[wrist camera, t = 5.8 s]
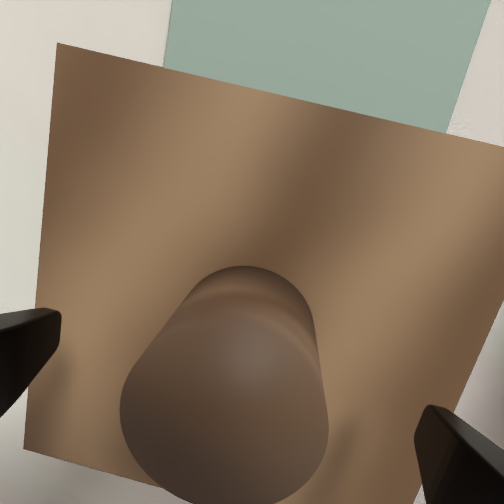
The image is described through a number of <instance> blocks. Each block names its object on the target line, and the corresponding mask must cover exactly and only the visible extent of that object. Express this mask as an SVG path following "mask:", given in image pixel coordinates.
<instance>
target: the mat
mask: <svg viewBox="0 0 504 504" xmlns="http://www.w3.org/2000/svg"><path fill="white" fill-rule="evenodd" d="M490 1H491V0H173V3H172V10H171V17H170V25H169V32H168V39H167V46H166V53H165V60H164V67H163V68H167V69H172V70H176V71H180V72H185V73H189V74H193V75H197V76H202V77H206V78H210V79H214V80H219V81H223V82H227V83H232V84H236V85H240V86H244V87H249V88H253V89H257V90H262V91H266V92H270V93H274V94H279V95H283V96H287V97H291V98H296V99H300V100H304V101H309V102H313V103H317V104H321V105H326V106H330V107H334V108H339V109H343V110H347V111H351V112H356V113H360V114H364V115H368V116H373V117H377V118H381V119H386V120H390V121H394V122H398V123H403V124H407V125H411V126H415V127H420V128H424V129H428V130H433V131H437V132H441V133H445V134H446V131H447V128H448V125H449V122H450V119H451V116H452V113H453V110H454V107H455V105H456V102H457V99H458V96H459V93H460V90H461V87H462V84H463V81H464V78H465V75H466V72H467V69H468V66H469V63H470V60H471V57H472V54H473V51H474V49H475V46H476V43H477V40H478V37H479V34H480V31H481V28H482V25H483V22H484V19H485V16H486V13H487V10H488V7H489V4H490Z"/></svg>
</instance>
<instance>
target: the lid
mask: <svg viewBox="0 0 504 504" xmlns="http://www.w3.org/2000/svg"><path fill="white" fill-rule="evenodd" d="M503 300H504V147H501V146H497V145H492V144H488V143H484V142H480V141H475V140H471V139H467V138H463V137H458V136H454V135H450V134H445V133H441V132H437V131H433V130H428V129H424V128H420V127H415V126H411V125H407V124H403V123H398V122H394V121H390V120H386V119H381V118H377V117H373V116H368V115H364V114H360V113H356V112H351V111H347V110H343V109H339V108H334V107H330V106H326V105H321V104H317V103H313V102H309V101H304V100H300V99H296V98H291V97H287V96H283V95H279V94H274V93H270V92H266V91H262V90H257V89H253V88H249V87H244V86H240V85H236V84H232V83H227V82H223V81H219V80H214V79H210V78H206V77H202V76H197V75H193V74H189V73H185V72H180V71H176V70H172V69H167V68H163V67H159V66H155V65H150V64H146V63H142V62H137V61H133V60H129V59H125V58H120V57H116V56H112V55H108V54H103V53H99V52H95V51H90V50H86V49H82V48H78V47H73V46H69V45H65V44H60V43H57V49H56V61H55V73H54V85H53V97H52V109H51V121H50V133H49V145H48V157H47V169H46V182H45V194H44V206H43V218H42V230H41V242H40V254H39V266H38V278H37V290H36V302H35V308H42V307H46V308H50V309H54V310H58V311H59V312H60V313H61V315H62V323H61V334H60V343H59V346H58V348H57V350H56V352H55V353H54V354H53V356H52V357H51V358H50V359H49V361H48V362H47V363H46V364H45V366H44V367H43V368H42V369H41V371H40V372H39V373H38V374H37V376H36V377H35V378H34V380H33V381H32V382H31V383H30V385H29V387H28V399H27V411H26V423H25V435H24V447H23V449H25V450H29V451H32V452H36V453H39V454H43V455H47V456H50V457H54V458H57V459H61V460H64V461H68V462H71V463H75V464H79V465H82V466H86V467H89V468H93V469H96V470H100V471H103V472H107V473H110V474H114V475H118V476H121V477H125V478H128V479H132V480H135V481H139V482H142V483H146V484H150V485H153V486H157V487H160V488H164V489H165V490H167V491H168V492H170V493H172V494H174V495H175V496H177V497H179V498H181V499H183V500H186V501H188V502H190V503H193V504H413V502H414V500H415V498H416V496H417V493H418V491H419V489H420V487H421V484H422V481H421V476H420V471H419V466H418V461H417V456H416V451H415V446H414V433H415V430H416V428H417V425H418V423H419V420H420V418H421V415H422V413H423V410H424V408H425V407H426V406H427V405H429V404H432V405H436V406H440V407H444V408H447V409H448V410H450V411H451V412H452V413H453V412H454V410H455V408H456V406H457V403H458V401H459V399H460V397H461V394H462V392H463V390H464V388H465V385H466V383H467V381H468V379H469V376H470V374H471V372H472V370H473V367H474V365H475V363H476V361H477V358H478V356H479V354H480V352H481V349H482V347H483V345H484V343H485V340H486V338H487V336H488V334H489V331H490V329H491V327H492V325H493V322H494V320H495V318H496V316H497V313H498V311H499V309H500V307H501V304H502V302H503Z"/></svg>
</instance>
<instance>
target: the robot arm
mask: <svg viewBox="0 0 504 504" xmlns="http://www.w3.org/2000/svg"><path fill="white" fill-rule="evenodd" d="M61 323H62V315H61V313H60V312H59V311H58V310H54V309H50V308H46V307H42V308H35V309H29V310H23V311H16V312H10V313H4V314H0V418H1V417H2V416H3V414H4V413H5V412H6V411H7V410H8V409H9V408H10V407H11V406H12V405H13V404H14V403H15V402H16V400H17V399H18V398H19V397H20V396H21V395H22V393H23V392H24V391H25V390H26V388H27V387H28V386H29V385H30V383H31V382H32V381H33V380H34V378H35V377H36V376H37V374H38V373H39V372H40V371H41V369H42V368H43V367H44V366H45V364H46V363H47V362H48V361H49V359H50V358H51V357H52V356H53V354H54V353H55V352H56V350H57V348H58V346H59V343H60V334H61ZM414 446H415V451H416V456H417V461H418V466H419V471H420V476H421V481H422V486H423V491H424V496H425V500H426V504H504V450H503V449H501V448H500V447H498V446H497V445H496V444H494V443H493V442H492V441H490V440H489V439H488V438H486V437H485V436H484V435H482V434H481V433H479V432H478V431H477V430H475V429H474V428H473V427H471V426H470V425H469V424H467V423H466V422H465V421H463V420H462V419H461V418H459V417H458V416H456V415H455V414H454V413H452V412H451V411H450V410H448V409H447V408H444V407H440V406H436V405H432V404H429V405H427V406H426V407H425V408H424V410H423V413H422V415H421V418H420V420H419V423H418V425H417V428H416V430H415V433H414Z"/></svg>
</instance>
